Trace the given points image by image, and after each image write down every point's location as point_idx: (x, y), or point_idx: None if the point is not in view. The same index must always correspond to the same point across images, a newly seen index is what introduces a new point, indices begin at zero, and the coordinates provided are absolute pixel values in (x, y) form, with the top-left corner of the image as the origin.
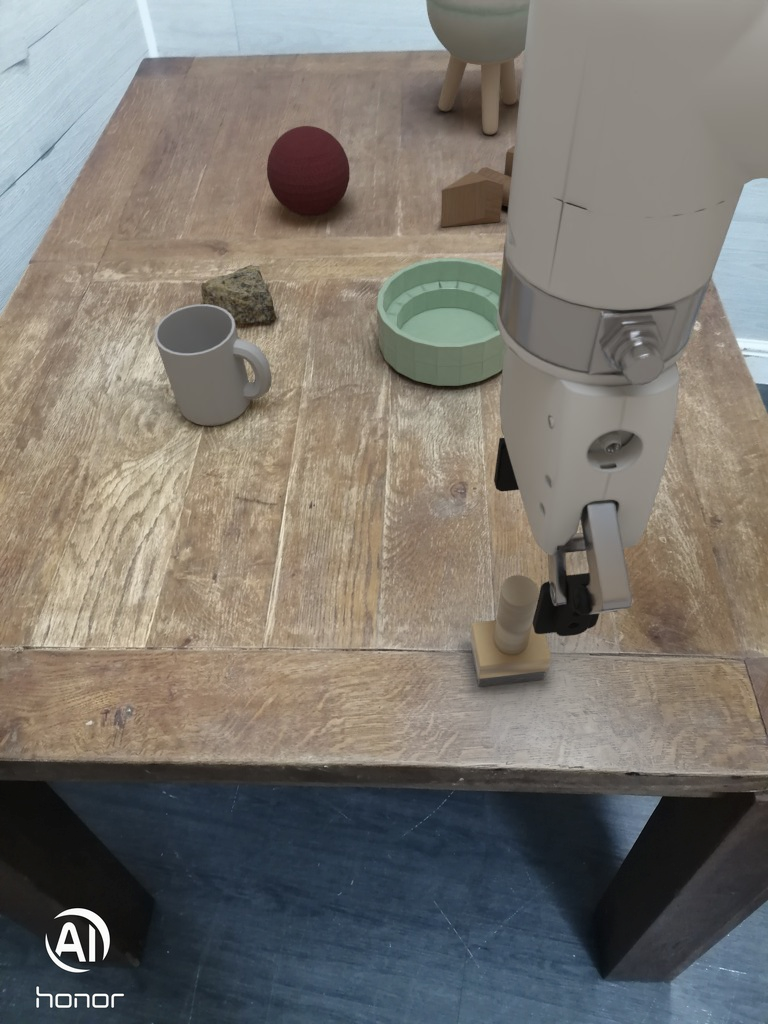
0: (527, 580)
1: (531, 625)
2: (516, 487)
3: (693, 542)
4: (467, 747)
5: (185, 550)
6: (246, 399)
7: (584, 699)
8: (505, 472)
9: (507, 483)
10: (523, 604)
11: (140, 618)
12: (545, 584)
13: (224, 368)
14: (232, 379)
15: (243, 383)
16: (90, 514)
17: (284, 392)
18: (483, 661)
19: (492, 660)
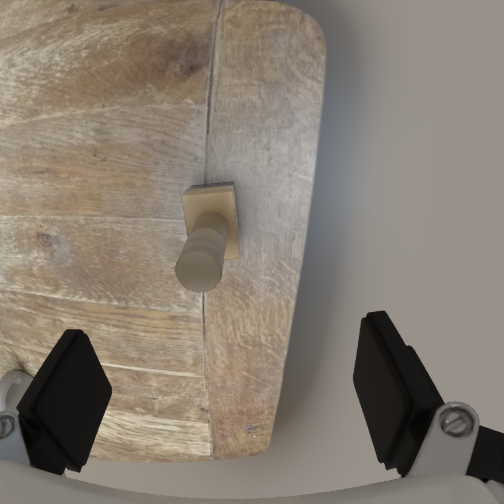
0: (182, 262)
1: (215, 229)
2: (101, 374)
3: (90, 26)
4: (292, 252)
5: (137, 409)
6: (22, 378)
7: (255, 147)
8: (97, 418)
9: (103, 394)
10: (218, 271)
11: (189, 426)
12: (389, 467)
13: (17, 410)
14: (18, 399)
15: (15, 386)
16: (125, 440)
17: (6, 351)
18: (234, 255)
19: (233, 247)
